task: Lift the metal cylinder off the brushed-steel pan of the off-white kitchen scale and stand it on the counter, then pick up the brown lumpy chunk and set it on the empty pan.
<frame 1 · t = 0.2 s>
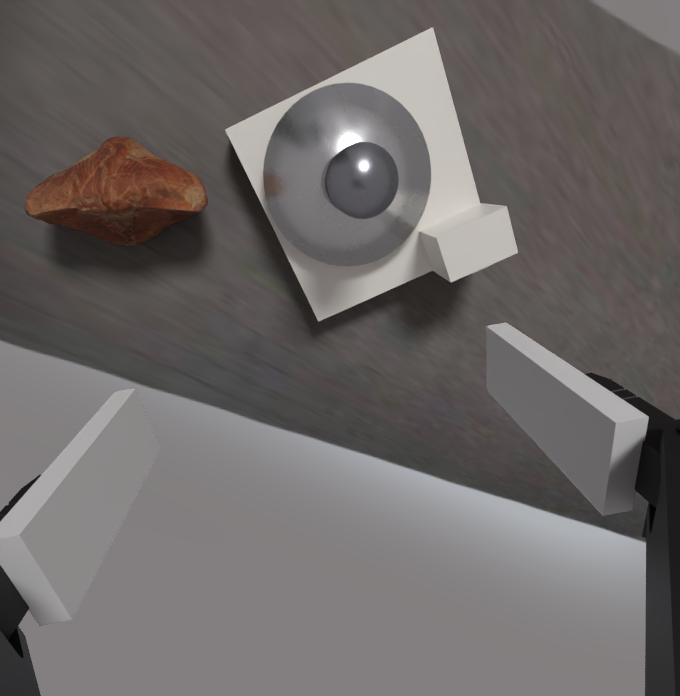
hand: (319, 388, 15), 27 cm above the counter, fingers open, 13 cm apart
metal cylinder: (348, 182, 33), point 4 cm above the counter, touching pan
scale: (363, 191, 38), on the counter
brown lumpy chunk: (138, 194, 36), on the counter
pan: (347, 182, 34), point 4 cm above the counter, slide at 0.5 cm, touching scale, metal cylinder
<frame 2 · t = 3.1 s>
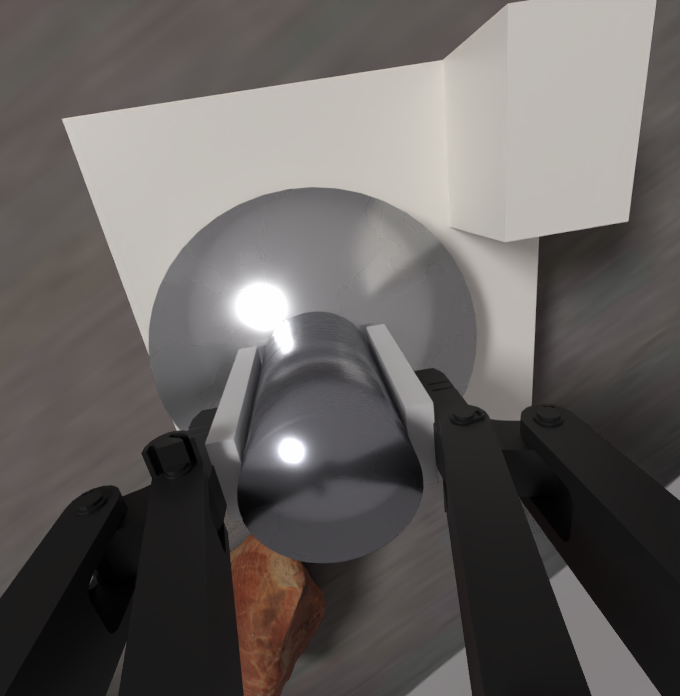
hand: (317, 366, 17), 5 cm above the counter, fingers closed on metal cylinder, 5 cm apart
metal cylinder: (317, 362, 17), point 5 cm above the counter, touching gripper
scale: (338, 295, 21), on the counter
brown lumpy chunk: (266, 572, 28), on the counter
pan: (318, 355, 18), point 4 cm above the counter, slide at 0.5 cm
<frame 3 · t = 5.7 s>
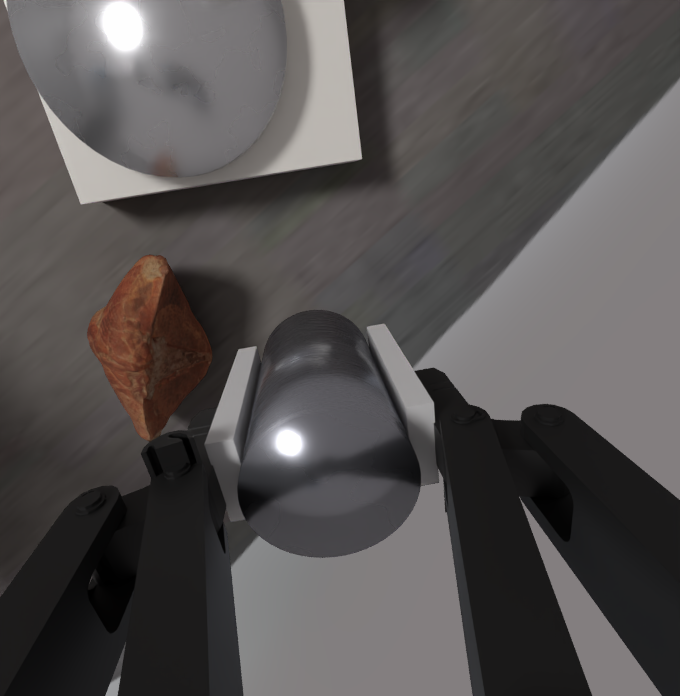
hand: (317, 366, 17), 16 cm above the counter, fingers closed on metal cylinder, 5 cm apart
metal cylinder: (316, 360, 17), point 15 cm above the counter, touching gripper
scale: (193, 25, 25), on the counter
brown lumpy chunk: (163, 331, 32), on the counter
pan: (157, 38, 22), point 4 cm above the counter, slide at 0.5 cm
when the fingers open (2 cm above the counter, at t = 8.3 s): metal cylinder drops 1 cm, on the counter.
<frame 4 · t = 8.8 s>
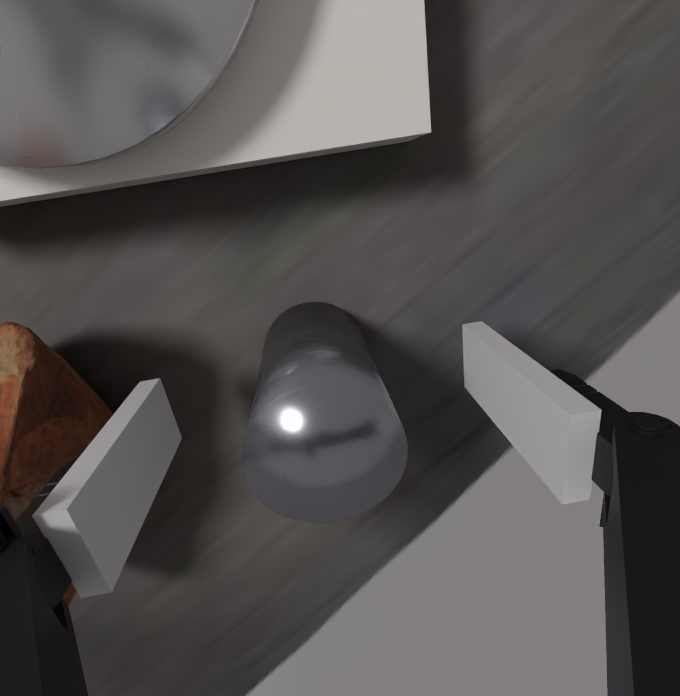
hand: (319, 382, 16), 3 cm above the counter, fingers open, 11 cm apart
metal cylinder: (315, 350, 18), on the counter
brown lumpy chunk: (75, 430, 19), on the counter
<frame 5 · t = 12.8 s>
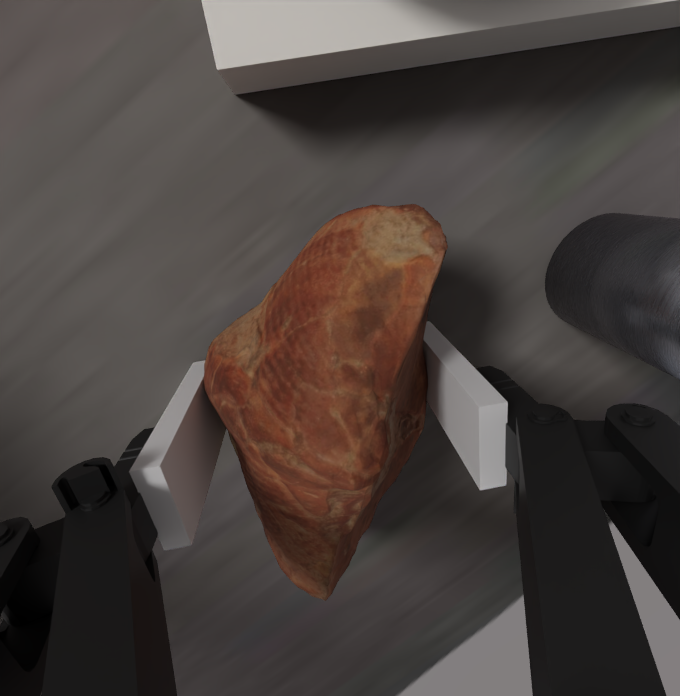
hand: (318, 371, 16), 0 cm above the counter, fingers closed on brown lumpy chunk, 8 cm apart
metal cylinder: (599, 272, 16), on the counter
brown lumpy chunk: (322, 366, 17), on the counter, touching gripper
when the fingers open (7 cm above the counter, at t = 17.6 s): brown lumpy chunk drops 2 cm, resting on pan.
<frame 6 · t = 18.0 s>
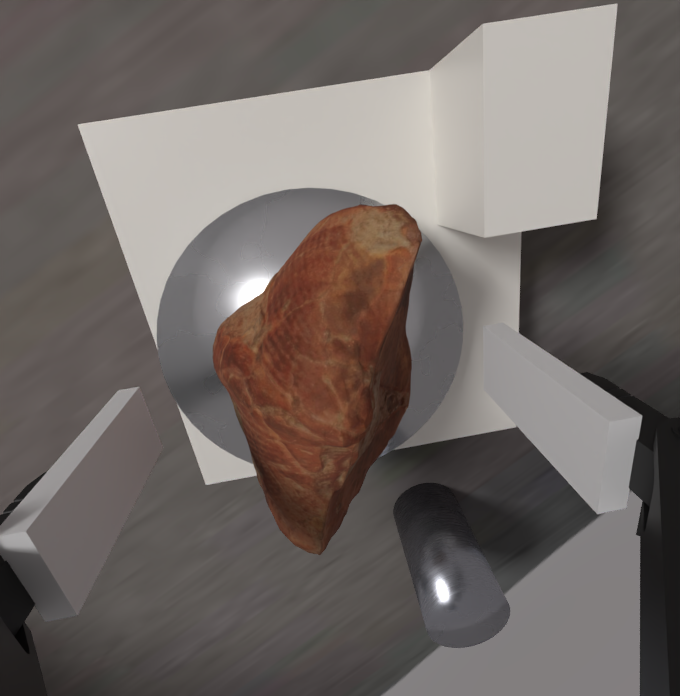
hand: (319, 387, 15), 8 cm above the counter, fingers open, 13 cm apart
metal cylinder: (424, 508, 29), on the counter
scale: (334, 290, 22), on the counter
brown lumpy chunk: (318, 350, 19), point 4 cm above the counter, touching pan
pan: (315, 344, 19), point 4 cm above the counter, slide at 0.5 cm, touching brown lumpy chunk
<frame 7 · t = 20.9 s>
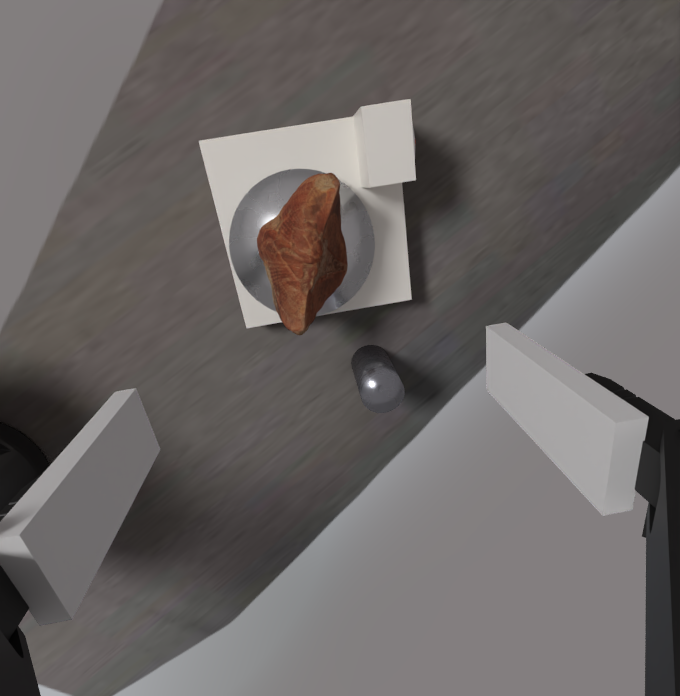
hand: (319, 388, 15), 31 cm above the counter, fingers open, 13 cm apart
metal cylinder: (370, 362, 49), on the counter
scale: (314, 225, 42), on the counter
brown lumpy chunk: (304, 248, 39), point 4 cm above the counter, touching pan
pan: (303, 246, 39), point 4 cm above the counter, slide at 0.5 cm, touching brown lumpy chunk
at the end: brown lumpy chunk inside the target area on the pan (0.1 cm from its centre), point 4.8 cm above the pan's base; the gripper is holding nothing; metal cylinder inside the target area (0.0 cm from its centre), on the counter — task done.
